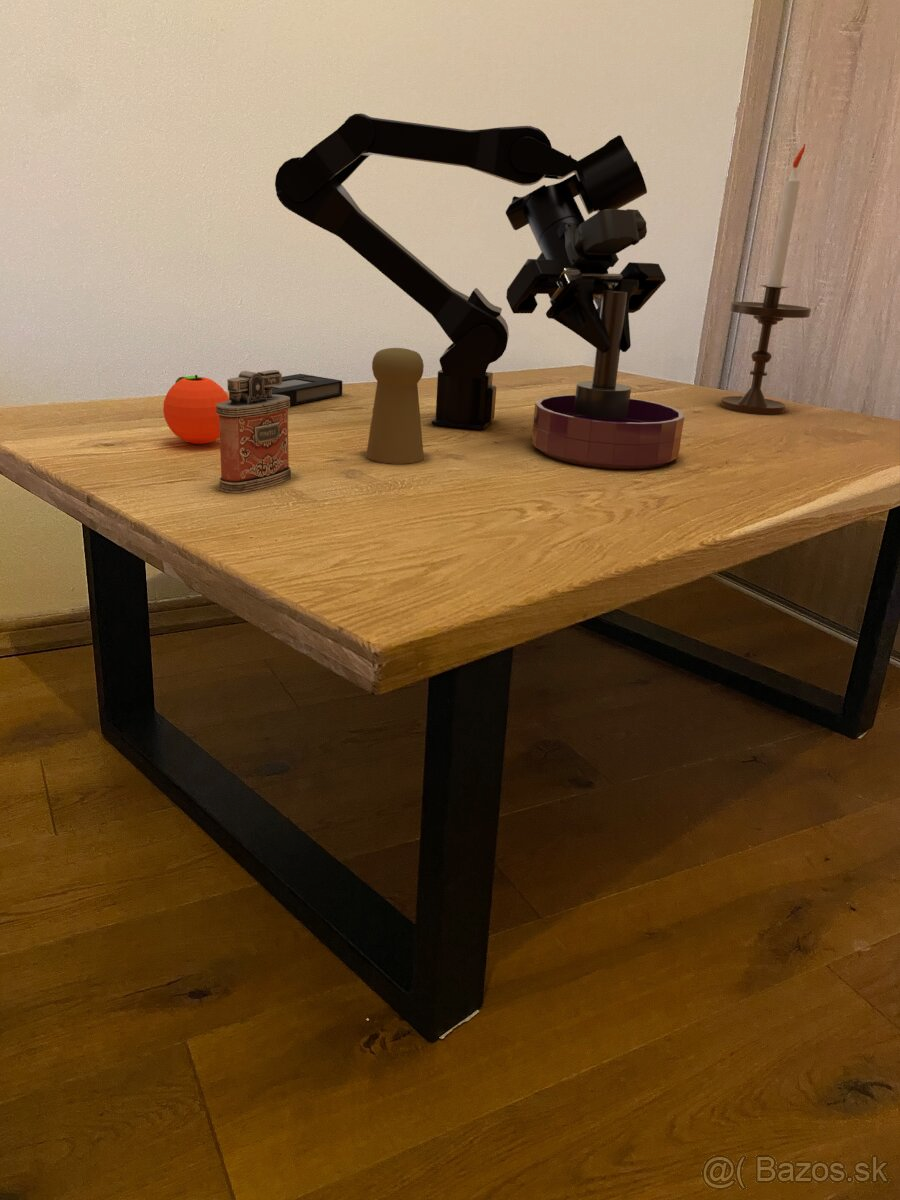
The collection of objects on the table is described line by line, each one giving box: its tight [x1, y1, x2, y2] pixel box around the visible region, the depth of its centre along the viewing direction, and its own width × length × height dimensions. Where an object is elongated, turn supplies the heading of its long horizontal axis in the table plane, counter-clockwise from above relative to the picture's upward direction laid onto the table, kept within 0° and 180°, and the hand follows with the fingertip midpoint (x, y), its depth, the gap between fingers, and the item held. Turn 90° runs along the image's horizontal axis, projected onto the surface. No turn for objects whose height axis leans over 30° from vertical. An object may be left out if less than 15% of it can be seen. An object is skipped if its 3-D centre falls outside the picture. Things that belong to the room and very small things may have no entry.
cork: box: [366, 347, 425, 465], centre depth 95 cm, size 6×6×11 cm
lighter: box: [216, 369, 292, 494], centre depth 83 cm, size 8×3×10 cm, turn 148°
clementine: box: [162, 374, 229, 445], centre depth 97 cm, size 8×7×7 cm
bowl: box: [531, 394, 685, 470], centre depth 103 cm, size 16×16×5 cm
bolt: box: [574, 290, 632, 419], centre depth 101 cm, size 6×6×13 cm
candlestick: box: [720, 143, 812, 415], centre depth 129 cm, size 11×11×35 cm
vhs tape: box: [228, 373, 343, 406], centre depth 123 cm, size 8×14×2 cm, turn 149°
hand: (616, 349), depth 100 cm, fingers closed on bolt, 2 cm apart
